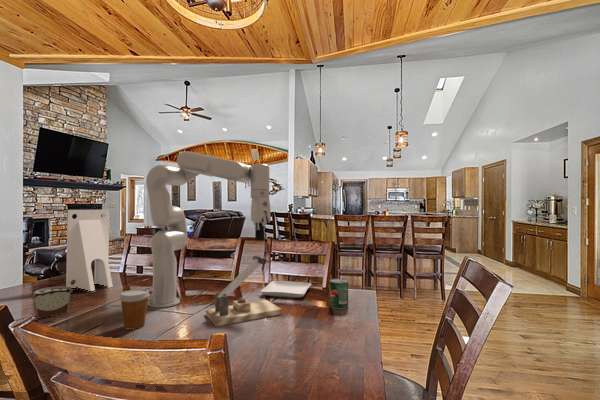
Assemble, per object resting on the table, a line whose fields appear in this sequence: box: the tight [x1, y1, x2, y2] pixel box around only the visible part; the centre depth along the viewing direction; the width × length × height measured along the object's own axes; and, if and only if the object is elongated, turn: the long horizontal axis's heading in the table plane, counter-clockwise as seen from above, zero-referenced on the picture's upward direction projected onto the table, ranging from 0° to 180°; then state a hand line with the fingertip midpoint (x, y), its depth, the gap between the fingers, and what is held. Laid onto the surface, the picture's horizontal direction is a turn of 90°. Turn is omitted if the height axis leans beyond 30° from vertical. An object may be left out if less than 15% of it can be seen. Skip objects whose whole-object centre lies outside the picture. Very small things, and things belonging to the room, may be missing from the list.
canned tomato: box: [329, 278, 349, 310], centre depth 139 cm, size 8×8×11 cm
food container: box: [32, 285, 73, 319], centre depth 126 cm, size 12×6×10 cm, turn 134°
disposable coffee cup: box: [119, 288, 151, 330], centre depth 114 cm, size 10×10×12 cm
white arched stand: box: [65, 209, 114, 292], centre depth 167 cm, size 20×14×40 cm
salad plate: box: [260, 280, 312, 299], centre depth 160 cm, size 21×21×3 cm
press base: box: [205, 291, 283, 327], centre depth 127 cm, size 26×14×9 cm, turn 121°
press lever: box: [217, 253, 267, 299], centre depth 127 cm, size 23×8×2 cm
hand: (259, 239), depth 131 cm, fingers closed
